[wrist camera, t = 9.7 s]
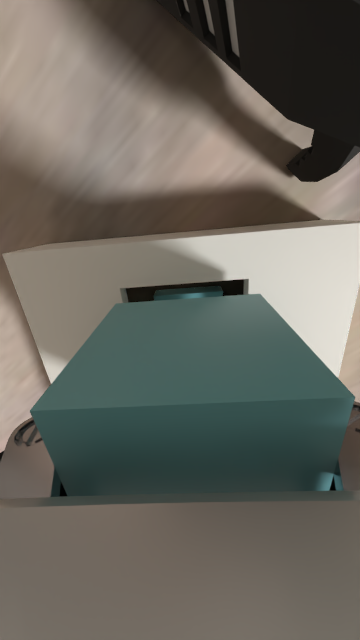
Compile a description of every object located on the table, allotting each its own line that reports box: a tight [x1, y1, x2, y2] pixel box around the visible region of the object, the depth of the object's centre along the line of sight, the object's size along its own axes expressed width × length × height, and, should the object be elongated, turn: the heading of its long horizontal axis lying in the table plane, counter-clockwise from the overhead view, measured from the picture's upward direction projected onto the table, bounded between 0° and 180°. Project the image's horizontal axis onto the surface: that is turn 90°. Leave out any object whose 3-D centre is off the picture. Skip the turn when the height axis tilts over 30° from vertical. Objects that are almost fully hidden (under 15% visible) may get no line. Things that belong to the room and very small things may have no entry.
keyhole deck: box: [2, 220, 360, 384], centre depth 16 cm, size 16×20×4 cm
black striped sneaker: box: [157, 0, 360, 182], centre depth 8 cm, size 3×16×10 cm, turn 44°
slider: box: [30, 286, 355, 496], centre depth 11 cm, size 6×6×11 cm
